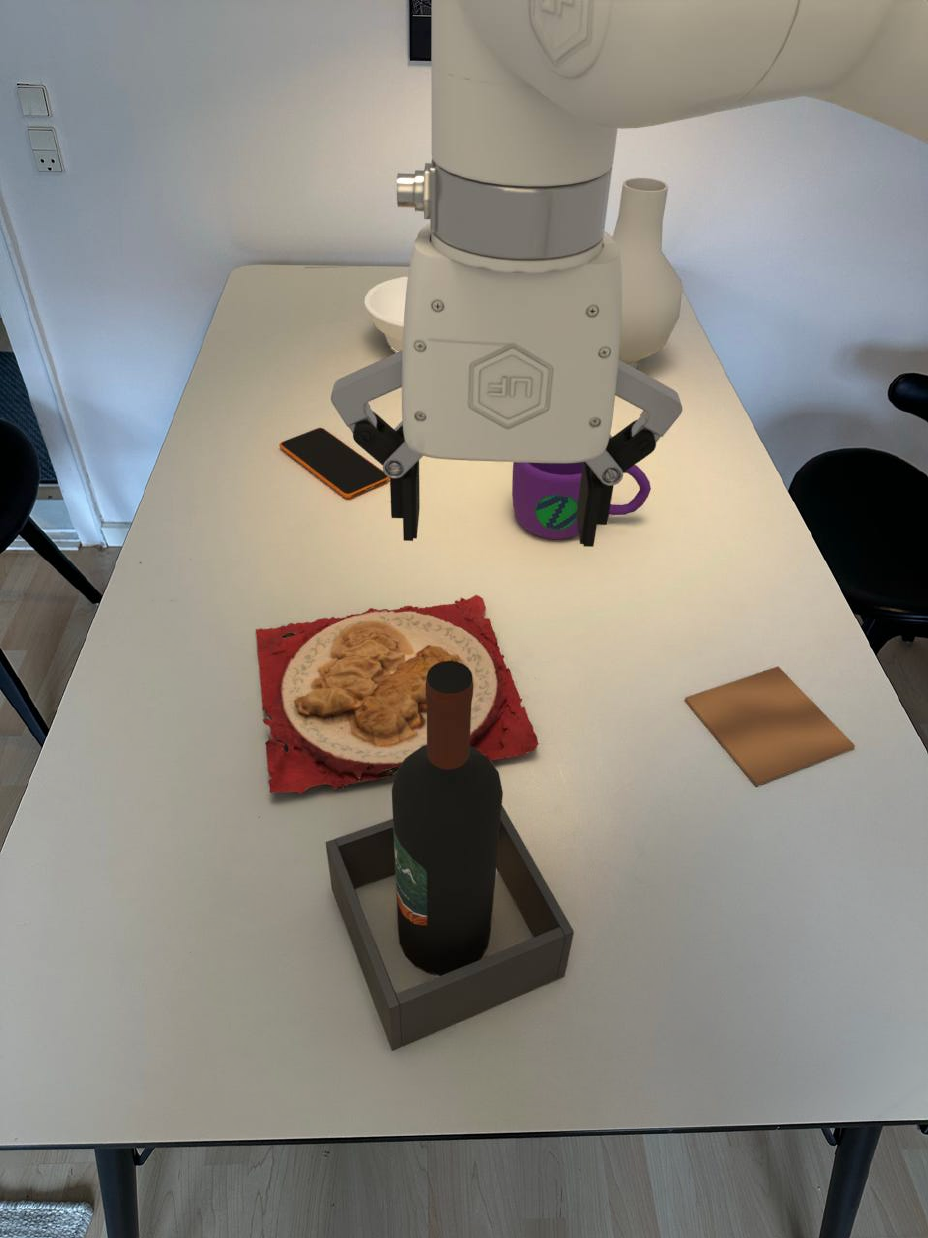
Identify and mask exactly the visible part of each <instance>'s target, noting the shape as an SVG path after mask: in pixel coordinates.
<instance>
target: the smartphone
mask: <svg viewBox="0 0 928 1238" xmlns="http://www.w3.org/2000/svg"><path fill="white" fill-rule="evenodd" d="M278 446H279V448H280V449H281V450H282V451H284V452H285V453H286V454H287V455H289V456H290V457H292V458H293V459H294V460H295V461H297V462H298V463H299V464H301V466H303V467H304V468H306V469H307V470H308V471H309V472H310V473H312V474H313V475H315V476H316V477H317V478H319V479H320V480H321V481H322V482H324V483H325V484H326V485H327V486H329V487H330V488H332V489H333V490H334V491H336V492H337V493H338V494H339V495H341V496H342V497H343V498H345V499H351V498H354V497H356V496H358V495H360V494H363V493H364V492H367V491H369V490H371V489H374V488H377V487H379V486H380V485H383V484H385V483H387V482H390V477H388V476H387V475H386V474H385V473H384V471H383V469H381V468H380V467H378V466H377V465H375V464H374V463H373V462H371V461H370V460H368V458H366V457H364V456H363V455H362V454H360V453H359V452H357V451H356V450H354V449H353V448H352V447H350V446H349V445H348V444H346V443H345V442H343V440H341V439H339V438H338V437H336V436H335V435H333V434H332V433H331V432H330V431H328V430H326V429H325V428H323V427H317V428H314V429H312V430H309V431H307V432H304V433H302V434H299V435H297V436H294V437H291V438H288V439H286V440H284V441H283V440H282V441H281V442H280V443H279V444H278Z"/></svg>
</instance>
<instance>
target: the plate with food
mask: <svg viewBox="0 0 928 1238" xmlns="http://www.w3.org/2000/svg"><path fill="white" fill-rule="evenodd" d="M486 610H487V607H486V604H485V601H484V597H481V596H480V595H478V594H475V595H472V596H471V597H469V598H467V599H465V598H464V597H460V600H458V599H456V600H455V601H454V603H447V604H439V605H433V606H425V607H419V606H412V605H404V606H401V607H400V608H396V609H387V608H383V609H378V608H377V609H376V608H373V607H370V608H368V610H367V611H364V612H362V613H355V614H354V613H353V614H349V615H346V616H345V617H334V616H331V618H327V617H322V618H317V619H315V620H314V621H312V622H310V621H305V622H296V623H294V622H290V623H288V624H287V625H281V626H278V627H273V628H272V627H270V628H261V627H260V628H255V637H256V647H257V649H256V651H257V657H258V658H257V659H258V670H259V680H260V681H259V682H260V690H261V691H260V692H261V693H260V694H261V702H262V703H261V704H262V711H264V712H265V713H266V714H267V715H268V716H269V717H270V719H269V718H263V719H262V722H263V724H265V725H267V726H269V731H270V732H269V735H270V738H268V740H266V741H265V743H264V744H265V751H266V764H267V772H268V775H269V777H270V779H269V780H268V787H269V788H268V789H269V790H268V791H269V793H271V794H272V793H282V794H283V793H294V792H295V793H297V794H303V793H304V792H305V791H306V790H308V789H310V788H312V787H313V788H314V787H317V786H321V785H328V786H331V787H332V788H333V789H334V790H337V789H338V788H344V789H345V788H346V787H348V785H349V784H355V783H356V784H357V783H358V782H361V783H364V782H366V781H376V780H379V779H384V778H388V777H393V776H395V775H396V771H395V772H390V773H383V772H384V771H388V770H391V769H395V768H399V766H400V765H401V764H402V762H403V761H404V759H405V758H406V757H408V756H409V755H411V754H412V753H413V752H415V751H416V750H418V749H419V748H421V747H422V746H424V745H427V700H426V680H427V673H428V671H429V669H430V668H431V667H432V666H434V665H435V664H437V663H440V662H443V661H456V662H459V663H462V664H464V665H465V666H467V667H468V668H469V669H470V671H471V672H472V677H473V698H472V703H471V725H470V746H472V747H474V748H476V749H477V750H479V751H480V752H481V753H482V754H484V755H485V756H486V757H487V758H489V759H490V760H491V761H495V760H501V759H507V758H512V757H519V756H522V755H526V754H528V753H533V752H534V751H535V750H536V749H537V748H538V746H539V745H540V744H541V743H540V742H539V739H538V736H537V734H536V733H535V731H534V725H533V723H532V722H531V721H530V719H529V715H528V713H527V710H526V707H525V706H522V704H521V703H522V701H523V699H522V698H521V696H520V694H519V692H518V689H517V686H516V683H515V681H514V678H513V674H512V672H511V669H510V668H509V667H507V666H506V663H505V660H504V659H505V655H504V654H502V652H501V651H500V646H499V643H498V639H497V636H496V632H495V631H494V628H493V625H492V621H491V618H488V617H483V616H484V614H485V612H486ZM288 634H294V635H292V636H291V635H290V636H287V637H283V636H285V635H288ZM277 741H278V742H277ZM285 745H286V746H287V748H288V749H287V750H288V751H286V750H285V749H284V746H285Z"/></svg>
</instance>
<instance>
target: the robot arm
mask: <svg viewBox="0 0 928 1238" xmlns="http://www.w3.org/2000/svg"><path fill="white" fill-rule="evenodd" d="M430 60H431V62H430V63H431V64H430V65H431V69H430V70H431V73H430V74H431V163H430V162H425V164H424V170H420V169H419V170H415V171H414V173H401V172H400V173H399V172H397V175H396V202H397V203H396V204H397V208H409V209H411V208H413V209H414V212H419V213H420V212H422V213H423V220H429V221H430V223H428V224H426V225H424V226H423V227H422V228H421V229H420V230H419V231H418V233H417V235H416V236H417V237H416V238H415V240H414V243H413V247H412V252H411V255H410V256H411V257H410V261H409V268H408V275H407V276H408V280H407V289H406V300H405V311H404V331H403V350H402V351H399V352H397V353H395V352H394V353H393V354H391V355H389V356H386V357H384V358H382V359H380V360H378V361H375V362H373V363H371V364H369V365H367V366H365V367H362V368H360V369H358V370H356V371H353V372H351V373H349V374H348V375H345V376H343V377H341V378H338V379H336V381H335V382H334V383H333V387H332V390H331V393H330V401H331V404H332V406H333V407H334V408H335V410H336V411H337V413H338V415H339V416H340V417H341V420H342V421H343V423H344V424H345V426H346V427H347V428H349V430H350V431H351V433H352V439H353V441H354V442H355V443H356V444H357V446H359V447H360V448H361V449H362V450H364V451H365V452H366V453H367V454H369V456H371V457H372V458H373V459H374V460H375V461H377V463H379V464H380V465H381V466H382V471H384V473H385V474H386V475H387V476H388V477H390V479H389V492H390V493H389V495H390V517H391V519H402V532H403V535H402V536H403V538H402V539H403V541H405V542H414V539H417V538H418V529H419V522H420V521H419V520H420V509H421V507H420V501H421V500H420V495H421V494H420V460H421V459H422V458H423V457H425V458H430V459H437V460H446V461H447V460H450V461H471V462H497V463H513V462H526V463H579V462H583V468H582V476H581V483H580V490H579V498H578V505H577V524H578V532H579V535H578V539H579V544H580V545H582V547H588V548H589V547H590V548H593V547H594V546H595V540H596V533H597V527H598V526H607V525H608V521H609V516H610V515H609V511H610V505H611V504H612V498H613V494H614V493H613V492H614V486H616V485H618V484H620V482H622V480H623V478H624V474H625V473H624V472H625V471H627V470H628V469H630V468H631V467H632V466H634V465H638V463H640V462H641V461H642V460H643V459H645V458H646V457H648V456H649V455H651V454H652V453H653V452H654V451H655V450H656V447H657V443H658V442H659V440H660V439H661V438H663V437H664V436H665V435H666V434H667V432H668V431H669V430H670V429H671V427H672V426H673V424H675V422H676V421H677V420H678V418H679V417H680V416H681V415H682V413H683V405H682V402H681V399H680V396H679V393H678V392H677V390H675V389H673V388H671V387H670V386H668V385H667V384H664V383H662V382H661V381H658V380H657V379H655V378H653V377H651V376H649V375H648V374H646V373H644V372H642V371H641V370H639V369H637V368H636V369H635V368H633V367H632V366H630V365H628V364H626V363H625V362H623V361H621V360H619V348H620V334H621V313H622V272H621V257H620V250H619V247H618V246H617V244H616V242H615V240H614V239H613V235H611V234H610V233H608V232H607V231H605V229H606V220H607V214H608V206H609V197H610V190H611V183H612V174H613V166H614V158H615V151H616V144H617V137H618V136H617V135H618V129H621V130H623V129H625V130H626V129H642V128H647V127H648V128H649V127H654V126H660V125H664V124H669V123H673V122H674V123H675V122H678V121H683V120H684V121H685V120H689V119H693V118H699V117H700V118H701V117H704V116H708V115H712V114H715V113H721V112H726V111H732V110H737V109H742V108H747V107H752V106H756V105H761V104H766V103H767V104H768V103H771V102H778V101H779V102H780V101H785V100H790V99H796V98H802V97H805V98H811V99H815V100H819V101H822V102H825V103H830V104H833V105H836V106H839V107H840V108H843V109H846V110H849V111H851V112H854V113H856V114H859V115H861V116H864V117H866V118H869V119H871V120H873V121H876V122H879V123H881V124H884V125H886V126H888V127H890V128H892V129H894V130H897V131H898V132H901V133H904V134H906V135H908V136H911V137H913V138H915V139H917V140H919V141H921V142H923V143H925V144H927V145H928V0H431V59H430ZM400 388H401V421H400V422H399V424H398V425H396V427H395V428H394V427H392V426H391V425H390V424H389V423H388V422H386V421H385V420H384V418H382V417H381V416H380V415H379V414H377V412H375V411H374V410H373V409H372V408H371V405H370V403H369V402H372V401H374V400H377V399H379V398H381V397H382V396H385V395H388V394H390V393H392V392H394V391H396V390H398V389H400ZM616 397H618V398H619V399H621V400H623V401H624V402H627V403H629V404H631V405H633V406H634V407H636V408H638V409H640V410H642V411H641V412H640V414H639V417H638V418H637V419H635V420H633V421H632V422H631V423H629V424H628V425H627V426H625V427H624V428H623V429H621V430H619V432H617V433H616V434H614V435H613V436H612V435H611V432H612V426H613V419H614V408H615V401H616Z"/></svg>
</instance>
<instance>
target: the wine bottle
mask: <svg viewBox="0 0 928 1238" xmlns="http://www.w3.org/2000/svg"><path fill="white" fill-rule="evenodd" d="M472 698H473V677H472V672H471V671H470V669H469V668H468V667H467V666H465V665H464V664H462V663H459V662H456V661H443V662H440V663H437V664H435V665H434V666H432V667H431V668H430V669H429V671H428V673H427V680H426V700H427V745H424V746H422V747H421V748H419V749H418V750H416V751H415V752H413V753H412V754H411V755H409V756H408V757H406V758H405V759H404V761H403V762H402V764H401V765H400V766H399V767H397V769H396V771H395V772H396V775H394V778H393V782H392V786H391V807H392V819H393V831H394V853H395V874H394V875H395V894H396V895H395V896H396V912H397V913H396V914H397V934H398V942H399V946H400V948H401V950H402V952H403V954H404V956H405V958H407V959H408V961H410V963H411V964H412V965H413V966H414V967H416V968H418V969H420V970H422V971H423V972H425V973H427V974H431V975H437V976H442V975H444V974H447V973H449V972H451V971H454V970H456V969H459V968H461V967H464V966H466V965H468V964H471V963H473V962H476V961H478V960H481V959H483V956H484V954H485V952H486V950H487V949H488V948H489V944H490V936H491V931H492V929H491V928H492V920H493V919H492V918H493V906H494V897H495V885H496V873H497V867H496V864H497V853H498V841H499V830H500V819H501V808H502V806H503V795H504V793H503V791H504V790H503V785H502V782H501V776H500V772H499V770H498V769H497V767H496V766H495V764H494V763H493V760H490V759H489V758H487V757H486V756H485V755H484V754H482V753H481V752H480V751H479V750H477V749H476V748H474V747H472V746H470V725H471V703H472Z"/></svg>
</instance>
